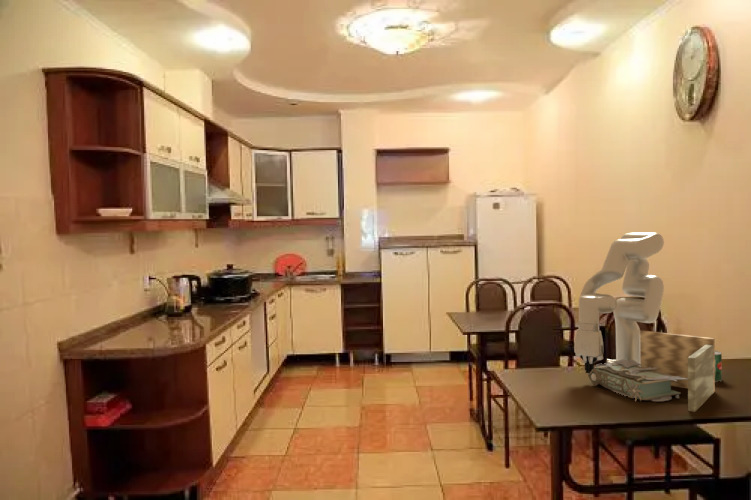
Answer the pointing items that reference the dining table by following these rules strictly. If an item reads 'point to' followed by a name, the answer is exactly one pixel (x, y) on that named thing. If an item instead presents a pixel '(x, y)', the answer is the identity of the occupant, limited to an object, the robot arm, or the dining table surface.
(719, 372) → the canned tomato
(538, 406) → the dining table surface
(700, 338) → the wooden corner bracket
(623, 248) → the robot arm
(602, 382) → the ornate book
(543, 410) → the dining table surface
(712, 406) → the dining table surface
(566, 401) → the dining table surface
